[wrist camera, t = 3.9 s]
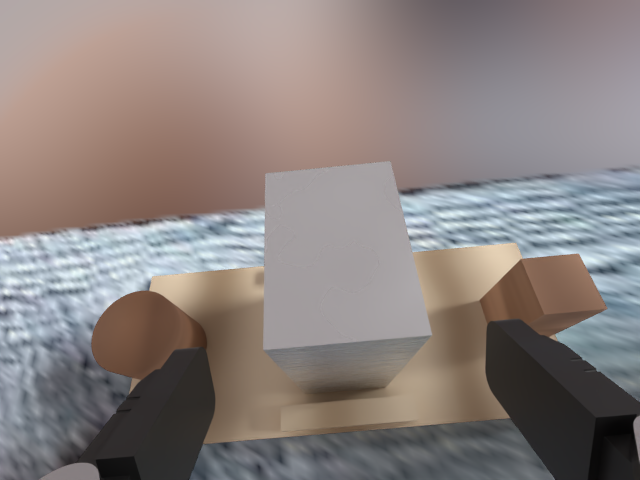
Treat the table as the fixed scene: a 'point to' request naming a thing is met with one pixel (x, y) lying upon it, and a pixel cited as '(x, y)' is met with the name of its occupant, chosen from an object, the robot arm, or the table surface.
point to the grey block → (340, 278)
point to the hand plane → (353, 405)
